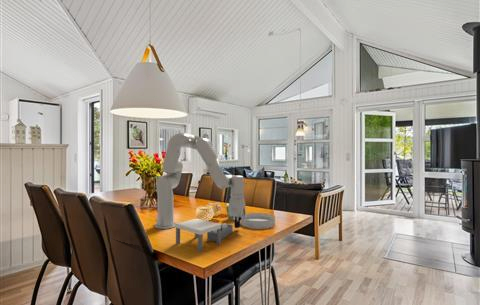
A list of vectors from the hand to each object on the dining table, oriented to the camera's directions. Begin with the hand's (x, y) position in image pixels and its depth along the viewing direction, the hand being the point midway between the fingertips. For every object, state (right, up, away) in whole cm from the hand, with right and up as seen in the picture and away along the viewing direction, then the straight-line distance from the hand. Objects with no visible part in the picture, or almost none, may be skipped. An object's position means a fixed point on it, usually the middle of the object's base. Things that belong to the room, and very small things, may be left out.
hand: (237, 227), depth 158 cm
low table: (-19, -2, -24) cm, 31 cm away
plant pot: (-4, -2, +26) cm, 26 cm away
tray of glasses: (-9, -2, -11) cm, 14 cm away
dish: (+13, -2, +14) cm, 20 cm away
